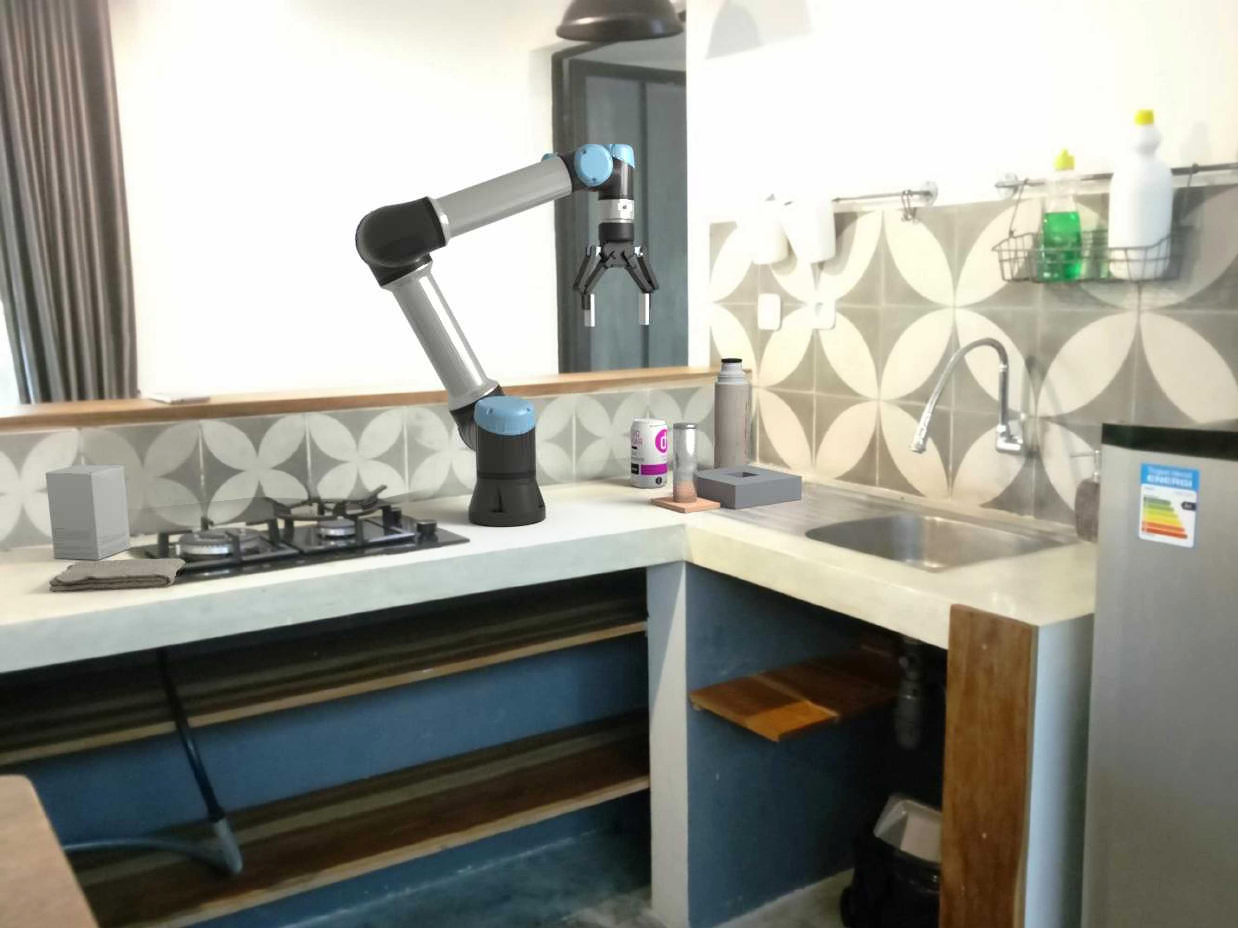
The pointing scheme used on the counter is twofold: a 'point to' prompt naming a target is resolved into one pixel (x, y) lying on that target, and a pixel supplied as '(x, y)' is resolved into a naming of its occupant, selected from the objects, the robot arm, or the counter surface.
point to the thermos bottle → (731, 415)
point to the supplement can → (649, 453)
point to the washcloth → (117, 575)
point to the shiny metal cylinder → (685, 462)
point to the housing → (747, 486)
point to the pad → (685, 504)
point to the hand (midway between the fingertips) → (617, 325)
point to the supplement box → (88, 511)
